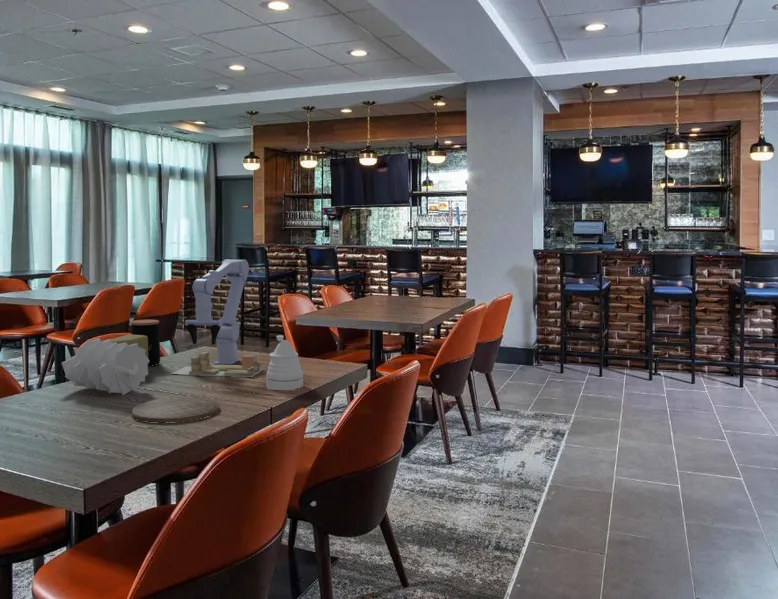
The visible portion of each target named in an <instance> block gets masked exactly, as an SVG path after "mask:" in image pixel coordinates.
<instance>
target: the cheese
mask: <svg viewBox="0 0 778 599" xmlns="http://www.w3.org/2000/svg"><path fill="white" fill-rule="evenodd" d="M107 340H108V339H107ZM107 340H102V341H101V340H100V341H101V342H104V341H107ZM110 340H111V342H112V343H115V342H116V343H117V344H122V343H127V344H128V346H129V345H133V344H136V343H138V347H140V348H143V349H145V350H146V351H145V355H146V356H147V358H148V337H147V336H144V335H131V334H125V335H121V336H116V337H114V338H111V339H110ZM147 368H148V369H149V367H148V364H147Z"/></svg>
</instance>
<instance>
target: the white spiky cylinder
mask: <svg viewBox="0 0 778 599" xmlns="http://www.w3.org/2000/svg"><path fill="white" fill-rule="evenodd" d="M103 341H104V342H101V338H96V339H93V340H90V339H89V338H88V339H87V340H86V341H85V342H84V343H83V344H82V346H78V349H77V353H76V355H73V356H71V357H70V358H69V359H66V360H65V361H62V362H61V366H62V368H63V371H64V373H65V375H64V378H66V379H67V380H68V381H70V382H71V383H73V386H75V387H85V389H87V390H88V389H96V390H98V391H106V392H107V394H112V393H116V394H117V393H119V394H121V396H124V395H123V394H125V395H126V394H127V393H128V394H129V392H132V391H133V392H136V390H137V389H138V387H139V386H140V384H141V383H142V382H145V380H146V376H148V375H149V367H148V368H147V364H148V363H149V359H148V358H147V356H146V355H145V351H146V350H145V349H143V348H140V347H138V343H136V344H133V345H129V346H128V344H127V343H122V344H117V343H116V342H115V343H112V342H111V340H110V339H107V341H106V340H103Z"/></svg>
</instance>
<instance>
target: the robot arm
mask: <svg viewBox="0 0 778 599" xmlns="http://www.w3.org/2000/svg"><path fill="white" fill-rule="evenodd" d="M249 271H250V265H249V262H248V260H247V259H232V258H231V259H228V258H225V259H224V260H222V262H221V265H220V266H219V267H218V268H217V269H216V270H214V269H210V270H209V271H208V273H206V274H205V275H203V276H202V277H201V278H196V279H195V280H194V281H193V282H192V283H193V284H192V286H191V289H192V291H193V295H194V296H193V297H194V299H195V319H186V320H184V326H186V329H187V331H188V333H189V335H190V338H191V341H192V344H193V345H195V344H197V343H198V342H197V341H198V337H197V335H198V327H199V326H206V327H209V329H210V334H211V336H210V337H211V338H210V339H211V345H212V346H213V345H215V344H216V357H217V359H216V361H214V362H213V364H215V365H234V364H235V363H237V362H239V361H241V360H240V359H239V358H238V344H237V340H238V338H239V337H240V327H241V326H240V323H238V321H237V320H236V318H237V314H238V309H239V305H240V302H241V298H242V293H243V290H244V287H245V282H246V281H247V279H248V275H249V273H250V272H249ZM224 276H225V278H226V280H227V281H229V282H230V283H231V284H230V287H229V291H228V295H227V299H226V303H225V307H224V311H223V314H222V317H220V318H219V319H217V320H214V319H212V294H213V292H214V290H215V288H216V286H218V285H219V284H220V283H221V282H222V280H223V279H222V278H223V277H224Z"/></svg>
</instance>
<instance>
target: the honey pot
mask: <svg viewBox="0 0 778 599" xmlns="http://www.w3.org/2000/svg"><path fill="white" fill-rule="evenodd" d="M276 340H277V341H278V342H279V343H278V344H277V345H276V347H275V349H274V351H273V352H271V353H270V354H269V356H268V357H270V358H271V359H270V362H269V363H268V364H269V365H268V368H267V371H266V372H265V373H266V374H265V375H266V379H265V380H266V381H265V382H266V384H265V386H266V387H267V388H269V389H274V390H291V389H297V388H300V387H301V386H303V387H304V372H303V369H302V365H301V362H300V361H299V358H298V357H299V354H298V352H296V350H295V348H294V347H293V345H292V344H291V343H290V341H288V340H287V339H284V335H282V334H281V335H280V334H279V335H276ZM267 388H266V389H267ZM269 389H268V390H269Z"/></svg>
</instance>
